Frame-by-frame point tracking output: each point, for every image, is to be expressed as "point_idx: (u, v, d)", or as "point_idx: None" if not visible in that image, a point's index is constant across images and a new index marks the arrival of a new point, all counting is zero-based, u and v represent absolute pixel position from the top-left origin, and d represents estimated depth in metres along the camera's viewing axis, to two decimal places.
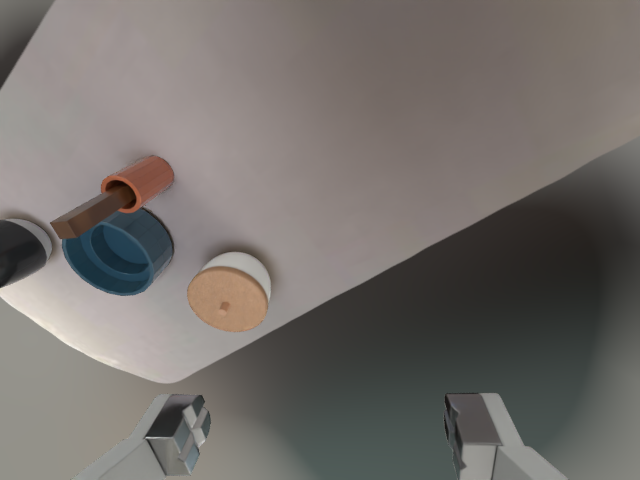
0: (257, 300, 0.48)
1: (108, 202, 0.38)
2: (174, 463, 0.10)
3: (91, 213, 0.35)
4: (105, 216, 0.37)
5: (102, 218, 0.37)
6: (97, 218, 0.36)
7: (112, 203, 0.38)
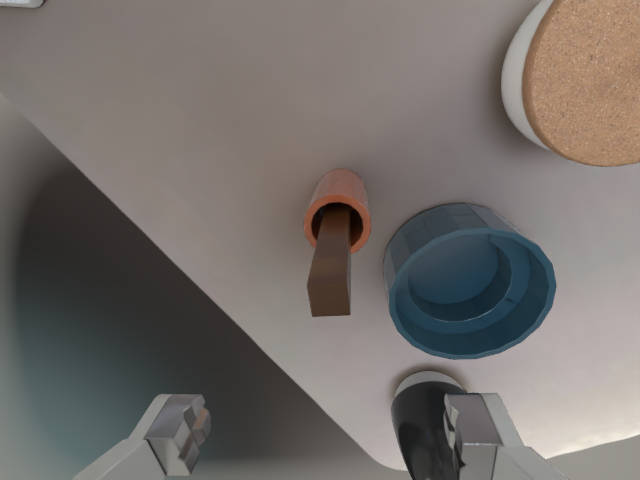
0: None
1: (327, 234, 0.21)
2: (174, 463, 0.10)
3: (324, 254, 0.18)
4: (344, 241, 0.20)
5: (344, 245, 0.19)
6: (338, 250, 0.19)
7: (332, 230, 0.21)
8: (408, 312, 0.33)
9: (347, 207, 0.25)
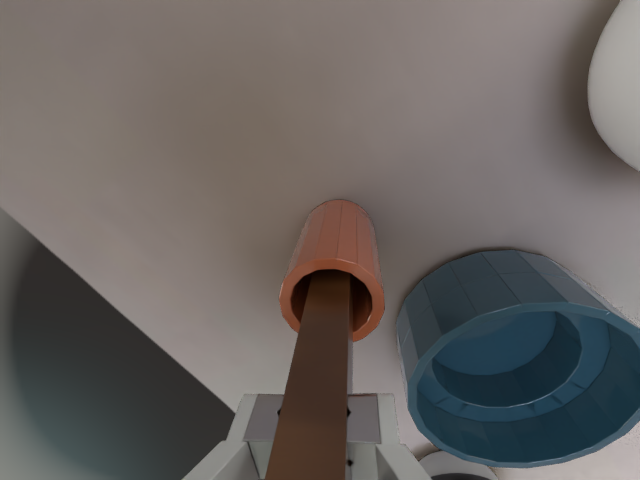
0: None
1: (311, 339, 0.12)
2: None
3: (301, 407, 0.09)
4: (341, 366, 0.11)
5: (340, 379, 0.10)
6: (329, 396, 0.10)
7: (321, 330, 0.12)
8: (431, 394, 0.24)
9: None
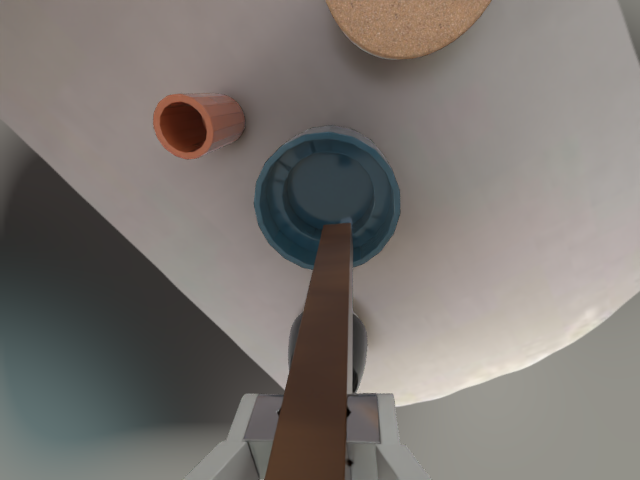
0: None
1: (311, 340, 0.12)
2: None
3: (301, 409, 0.09)
4: (341, 367, 0.11)
5: (340, 380, 0.10)
6: (329, 397, 0.10)
7: (321, 331, 0.12)
8: (288, 232, 0.36)
9: (347, 271, 0.16)
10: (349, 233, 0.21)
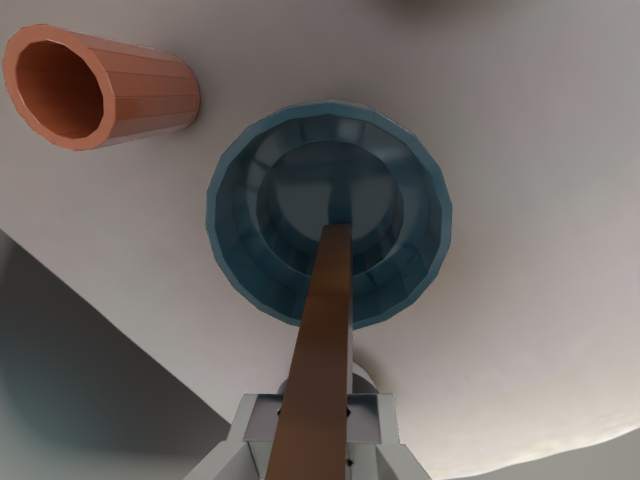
0: None
1: (311, 340, 0.12)
2: None
3: (301, 409, 0.09)
4: (341, 368, 0.11)
5: (340, 380, 0.10)
6: (329, 397, 0.10)
7: (321, 331, 0.12)
8: (267, 266, 0.23)
9: (347, 271, 0.16)
10: (349, 233, 0.21)
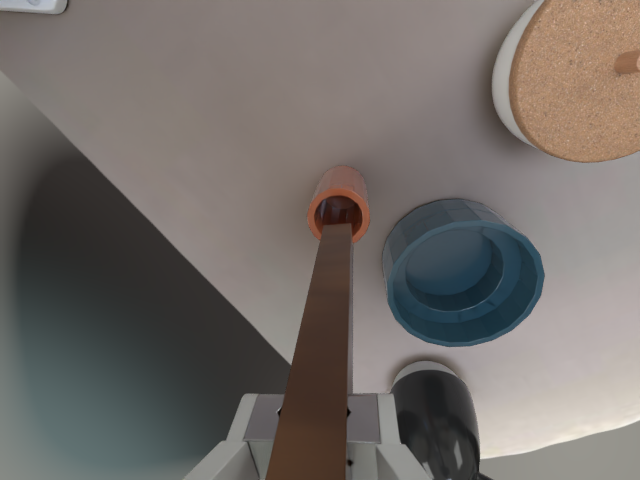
0: None
1: (311, 341, 0.12)
2: None
3: (301, 410, 0.09)
4: (341, 368, 0.11)
5: (341, 381, 0.10)
6: (330, 398, 0.10)
7: (322, 332, 0.12)
8: (405, 302, 0.35)
9: (347, 271, 0.16)
10: (349, 233, 0.21)
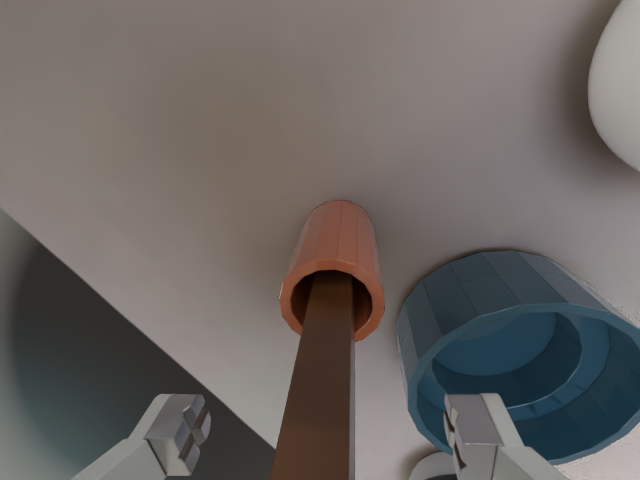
0: None
1: (314, 342, 0.12)
2: (174, 463, 0.10)
3: (304, 412, 0.09)
4: (344, 370, 0.11)
5: (343, 383, 0.10)
6: (332, 400, 0.10)
7: (324, 333, 0.13)
8: (431, 395, 0.24)
9: None
10: None
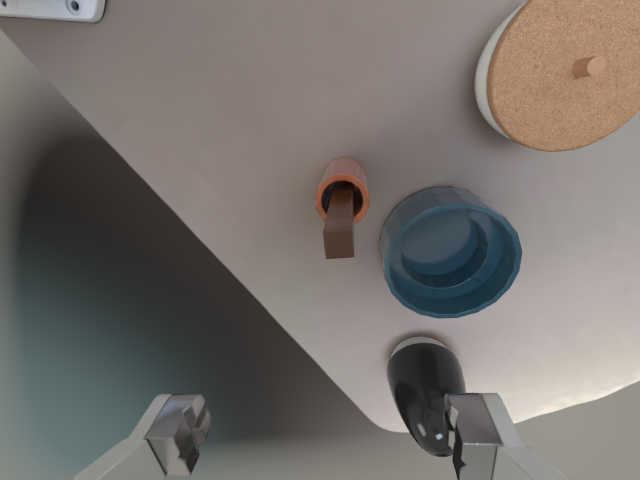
0: None
1: (335, 204, 0.27)
2: (174, 463, 0.10)
3: (334, 216, 0.24)
4: (349, 208, 0.26)
5: (349, 210, 0.25)
6: (345, 213, 0.25)
7: (340, 202, 0.27)
8: (401, 280, 0.39)
9: (351, 187, 0.31)
10: None
